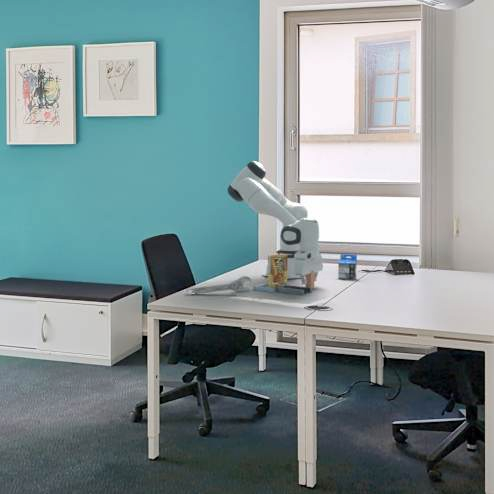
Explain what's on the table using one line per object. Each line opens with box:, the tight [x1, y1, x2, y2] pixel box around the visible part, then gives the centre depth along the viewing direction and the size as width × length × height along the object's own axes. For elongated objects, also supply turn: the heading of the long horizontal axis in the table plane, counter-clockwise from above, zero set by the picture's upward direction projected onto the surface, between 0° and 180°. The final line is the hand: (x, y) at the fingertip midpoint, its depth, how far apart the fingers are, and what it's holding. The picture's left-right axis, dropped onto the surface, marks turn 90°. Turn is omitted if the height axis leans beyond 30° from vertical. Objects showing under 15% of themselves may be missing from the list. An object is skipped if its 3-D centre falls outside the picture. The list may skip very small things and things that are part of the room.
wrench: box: [186, 275, 253, 294], centre depth 325 cm, size 8×2×30 cm
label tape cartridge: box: [337, 253, 358, 280], centre depth 368 cm, size 9×4×12 cm, turn 68°
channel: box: [275, 284, 313, 296], centre depth 322 cm, size 14×10×4 cm
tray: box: [252, 282, 285, 293], centre depth 329 cm, size 11×12×3 cm
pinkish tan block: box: [304, 270, 315, 290], centre depth 331 cm, size 3×4×10 cm
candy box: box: [267, 253, 288, 285], centre depth 345 cm, size 9×4×15 cm, turn 110°
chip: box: [267, 282, 281, 292], centre depth 328 cm, size 4×4×4 cm
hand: (309, 282), depth 331 cm, fingers open, 8 cm apart
